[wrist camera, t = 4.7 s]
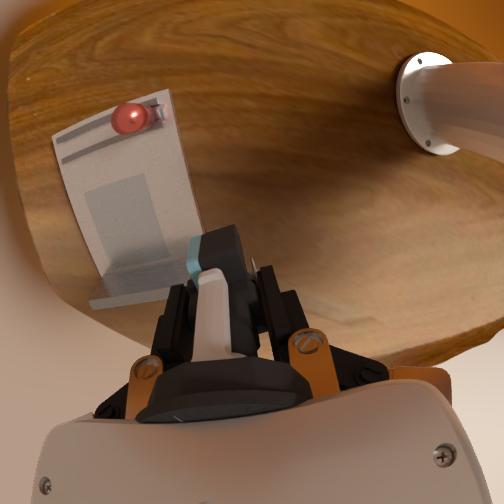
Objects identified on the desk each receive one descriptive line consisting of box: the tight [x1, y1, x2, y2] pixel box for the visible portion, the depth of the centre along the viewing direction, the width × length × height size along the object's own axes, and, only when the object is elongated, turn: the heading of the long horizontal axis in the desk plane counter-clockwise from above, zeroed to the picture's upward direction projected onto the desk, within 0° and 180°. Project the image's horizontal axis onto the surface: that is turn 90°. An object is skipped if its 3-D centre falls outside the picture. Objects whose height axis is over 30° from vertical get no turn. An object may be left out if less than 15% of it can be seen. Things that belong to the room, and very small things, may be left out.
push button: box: [134, 224, 314, 423], centre depth 10 cm, size 7×5×10 cm
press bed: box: [52, 89, 205, 310], centre depth 23 cm, size 13×18×6 cm
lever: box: [111, 103, 162, 135], centre depth 18 cm, size 3×2×5 cm
